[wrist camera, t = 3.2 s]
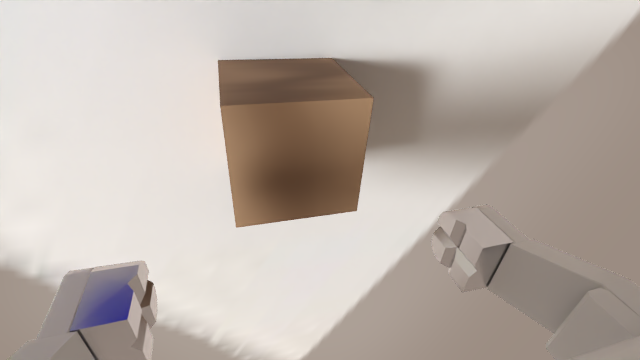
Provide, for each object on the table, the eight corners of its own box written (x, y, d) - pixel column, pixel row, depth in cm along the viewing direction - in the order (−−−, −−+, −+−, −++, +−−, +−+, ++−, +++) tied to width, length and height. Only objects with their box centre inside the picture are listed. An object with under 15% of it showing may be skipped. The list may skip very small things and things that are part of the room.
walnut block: (331, 57, 15) (373, 98, 11) (324, 152, 18) (356, 210, 14) (217, 59, 14) (220, 106, 10) (230, 160, 17) (236, 227, 13)
